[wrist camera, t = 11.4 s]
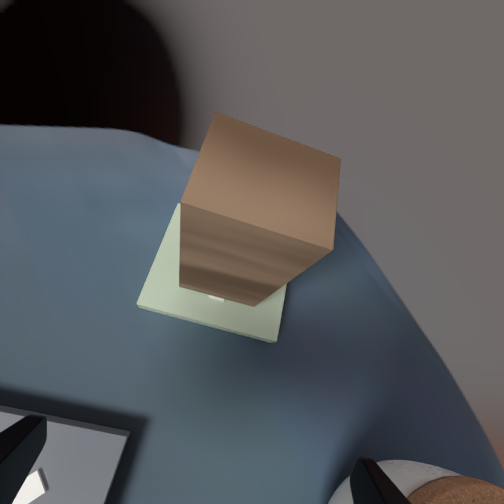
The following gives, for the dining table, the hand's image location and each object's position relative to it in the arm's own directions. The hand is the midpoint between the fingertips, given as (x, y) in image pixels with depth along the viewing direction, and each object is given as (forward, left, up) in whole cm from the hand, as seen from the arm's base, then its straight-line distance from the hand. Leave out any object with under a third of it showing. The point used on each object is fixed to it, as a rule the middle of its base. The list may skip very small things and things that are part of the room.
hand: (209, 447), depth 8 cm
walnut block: (+6, +5, -8) cm, 11 cm away
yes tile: (+7, +5, -9) cm, 12 cm away
